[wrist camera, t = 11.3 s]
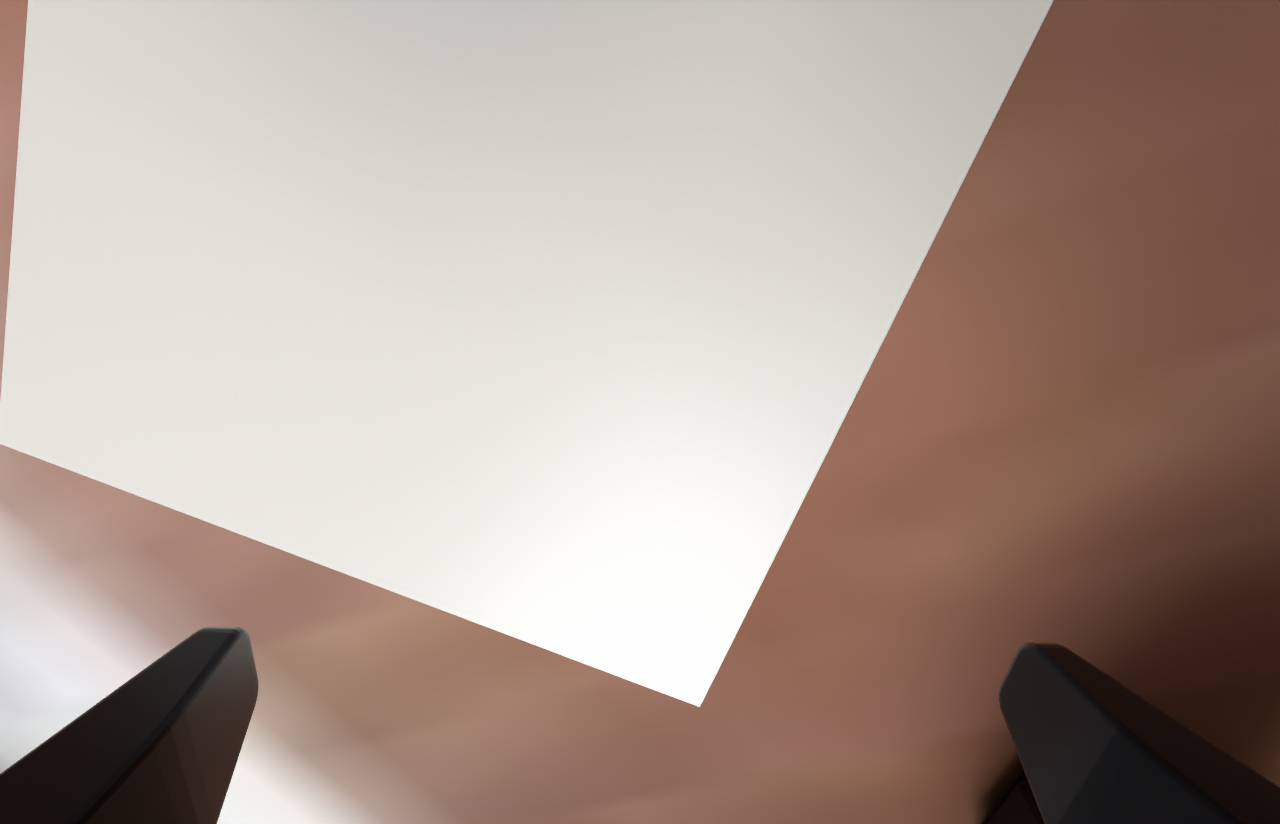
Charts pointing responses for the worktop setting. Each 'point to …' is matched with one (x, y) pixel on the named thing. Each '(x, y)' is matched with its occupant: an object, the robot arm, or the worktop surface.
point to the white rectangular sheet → (486, 280)
